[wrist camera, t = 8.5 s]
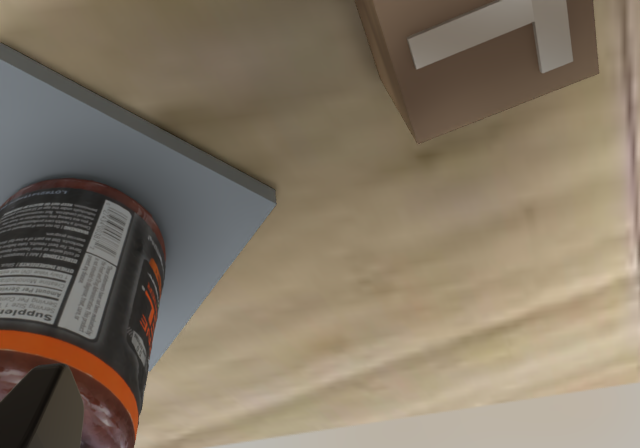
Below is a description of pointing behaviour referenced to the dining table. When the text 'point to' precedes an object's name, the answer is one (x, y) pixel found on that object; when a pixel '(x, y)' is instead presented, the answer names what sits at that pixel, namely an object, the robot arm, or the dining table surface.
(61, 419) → the robot arm
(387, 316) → the dining table surface
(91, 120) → the mat
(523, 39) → the marked cube
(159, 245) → the supplement bottle
